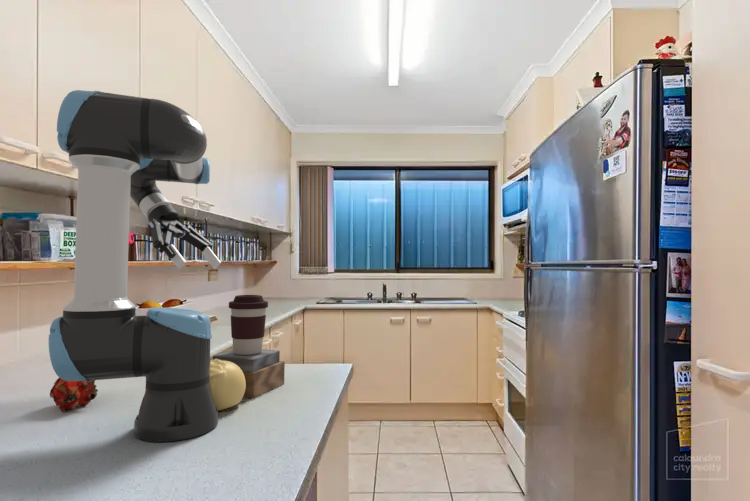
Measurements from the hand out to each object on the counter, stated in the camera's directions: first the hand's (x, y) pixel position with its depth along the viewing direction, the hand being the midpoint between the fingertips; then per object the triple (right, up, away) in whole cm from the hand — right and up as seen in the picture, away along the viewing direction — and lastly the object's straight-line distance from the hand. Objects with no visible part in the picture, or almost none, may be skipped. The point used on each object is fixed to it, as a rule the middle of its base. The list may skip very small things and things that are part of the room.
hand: (201, 265), depth 121 cm
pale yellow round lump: (+12, -31, -21) cm, 40 cm away
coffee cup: (+14, -23, -6) cm, 28 cm away
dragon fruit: (-19, -31, -23) cm, 43 cm away
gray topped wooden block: (+14, -32, -6) cm, 35 cm away
